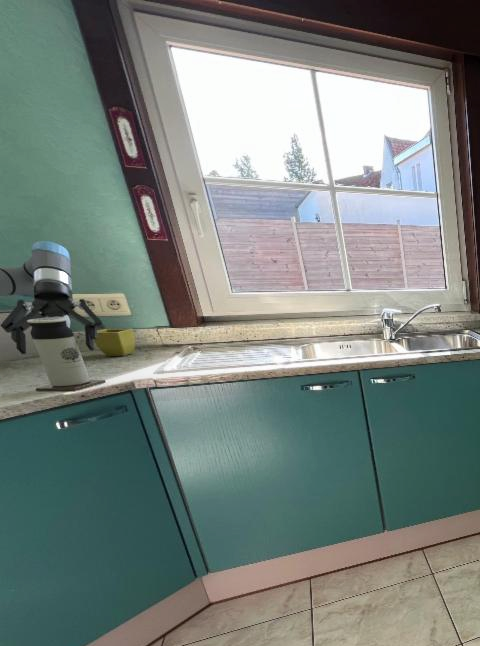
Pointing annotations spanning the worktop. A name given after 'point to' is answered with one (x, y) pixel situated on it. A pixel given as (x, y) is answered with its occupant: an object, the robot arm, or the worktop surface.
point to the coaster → (69, 388)
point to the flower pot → (115, 341)
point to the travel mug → (58, 352)
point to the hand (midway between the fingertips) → (56, 349)
